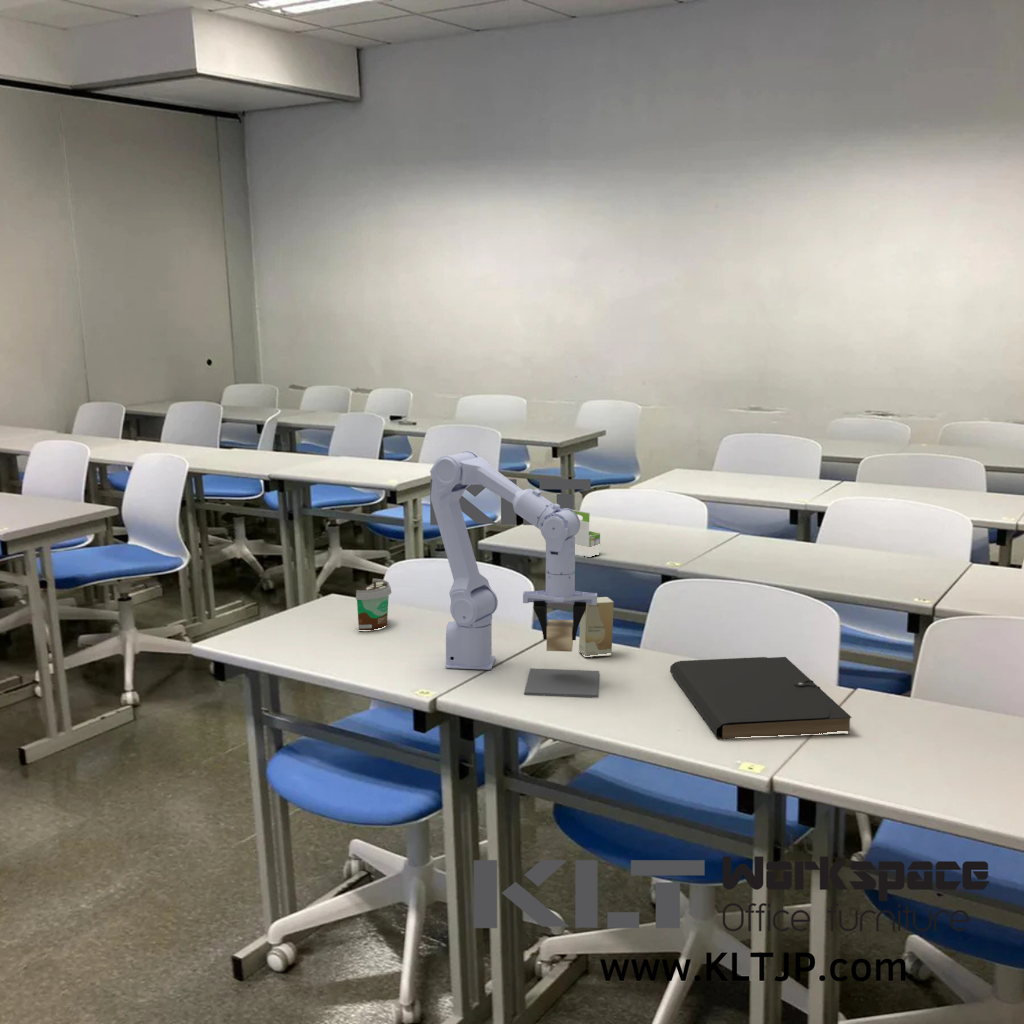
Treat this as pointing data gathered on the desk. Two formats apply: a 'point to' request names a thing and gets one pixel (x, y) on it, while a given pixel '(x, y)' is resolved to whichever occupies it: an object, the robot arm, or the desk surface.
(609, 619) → the skincare box
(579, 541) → the ink box
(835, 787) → the desk surface
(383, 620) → the food container
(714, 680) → the file folder
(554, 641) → the maple cube
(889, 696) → the desk surface
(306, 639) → the desk surface
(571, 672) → the charcoal mat
